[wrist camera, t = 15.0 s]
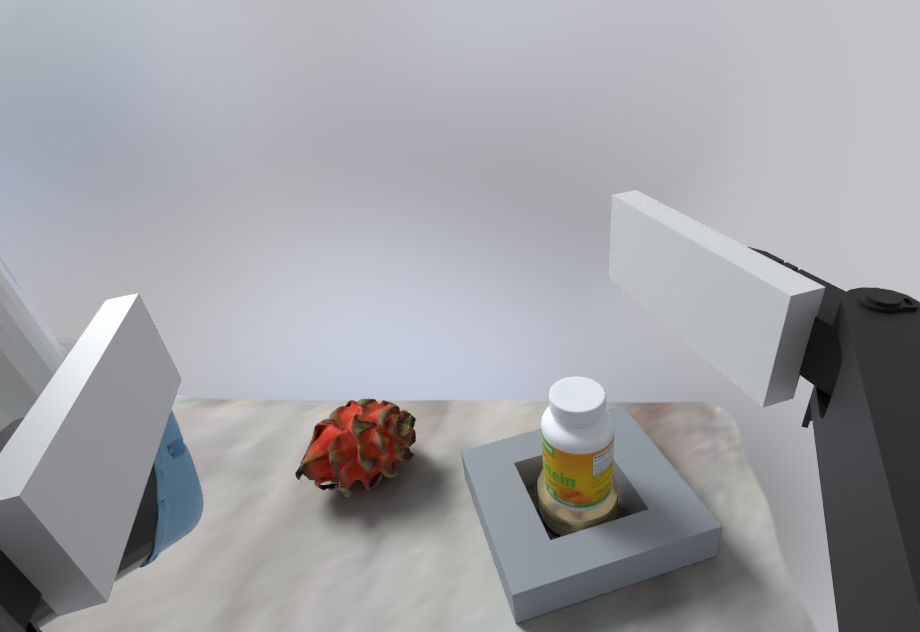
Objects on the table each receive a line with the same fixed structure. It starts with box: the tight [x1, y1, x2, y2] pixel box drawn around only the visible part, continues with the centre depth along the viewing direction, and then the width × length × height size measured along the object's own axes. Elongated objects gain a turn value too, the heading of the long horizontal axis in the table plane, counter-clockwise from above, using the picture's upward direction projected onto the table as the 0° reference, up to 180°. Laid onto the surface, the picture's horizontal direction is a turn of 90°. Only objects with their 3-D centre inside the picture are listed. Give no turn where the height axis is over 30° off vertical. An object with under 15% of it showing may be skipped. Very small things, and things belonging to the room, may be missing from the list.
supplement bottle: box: [541, 377, 615, 511], centre depth 40 cm, size 5×5×10 cm
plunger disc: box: [537, 470, 618, 536], centre depth 43 cm, size 6×6×2 cm
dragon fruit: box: [296, 399, 416, 498], centre depth 49 cm, size 8×8×12 cm
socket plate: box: [461, 406, 722, 623], centre depth 43 cm, size 16×14×4 cm
